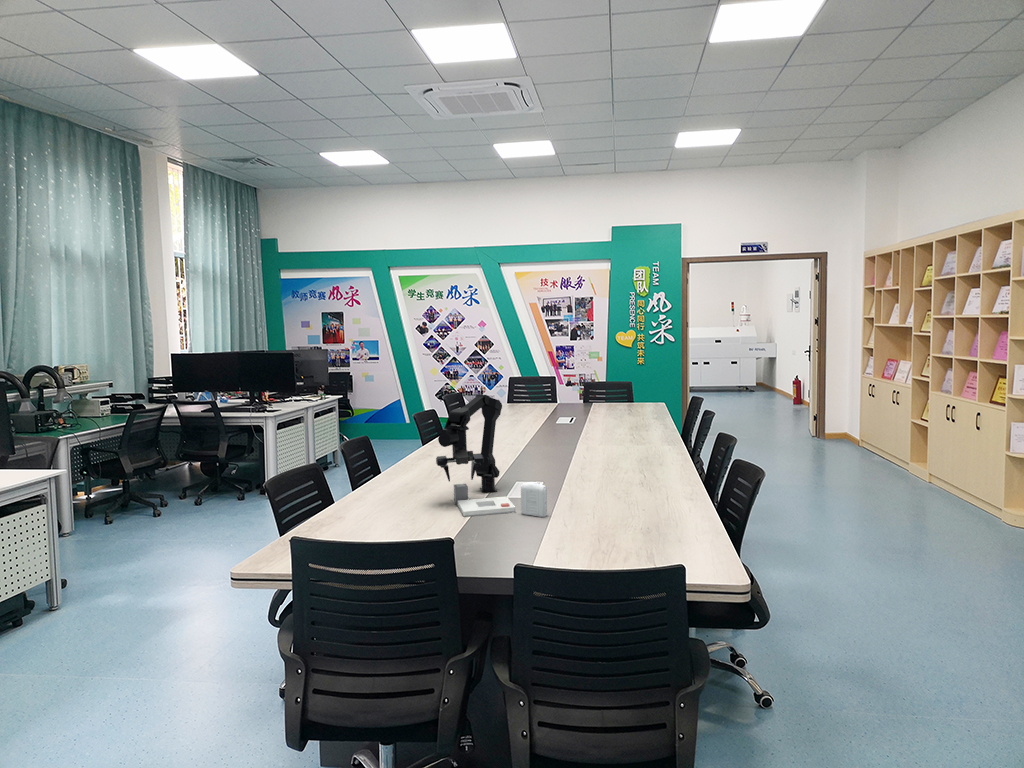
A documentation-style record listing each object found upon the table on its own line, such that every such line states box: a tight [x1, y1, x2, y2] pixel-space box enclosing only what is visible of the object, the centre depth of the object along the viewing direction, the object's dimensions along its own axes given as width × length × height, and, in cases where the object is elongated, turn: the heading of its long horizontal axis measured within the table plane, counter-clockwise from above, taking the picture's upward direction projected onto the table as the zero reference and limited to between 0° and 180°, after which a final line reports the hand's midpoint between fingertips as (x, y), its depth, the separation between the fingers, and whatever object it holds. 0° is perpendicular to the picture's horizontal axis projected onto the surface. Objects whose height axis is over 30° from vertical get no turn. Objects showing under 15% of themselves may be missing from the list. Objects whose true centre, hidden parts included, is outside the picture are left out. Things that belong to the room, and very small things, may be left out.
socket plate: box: [457, 496, 517, 518], centre depth 261 cm, size 16×20×3 cm
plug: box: [453, 483, 469, 506], centre depth 270 cm, size 5×5×7 cm
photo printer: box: [520, 481, 548, 518], centre depth 251 cm, size 10×4×12 cm, turn 61°
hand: (460, 480), depth 270 cm, fingers open, 9 cm apart
